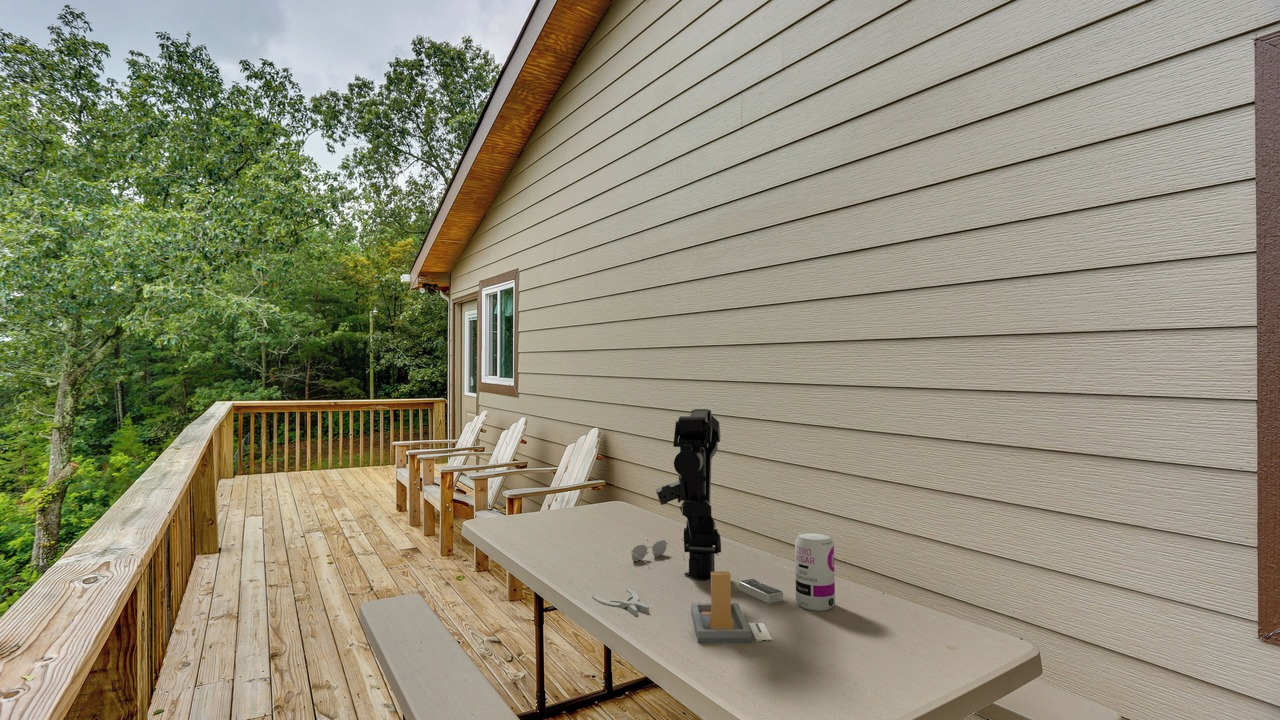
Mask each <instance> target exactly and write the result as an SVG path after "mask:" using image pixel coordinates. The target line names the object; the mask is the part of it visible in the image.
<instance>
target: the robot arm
mask: <svg viewBox="0 0 1280 720" xmlns="http://www.w3.org/2000/svg"><path fill="white" fill-rule="evenodd" d="M720 427H721V426H720V421H719V420H717V418H715V417H714V416H713V414H712V410H711V409H708V408H695V409H692V410H691V414H690V415H689V416H687V415H686V416H684V415H683V416H679V417H678V420H676V421H675V426H674V437H673V447H674V448H679V453H677V454H676V456H675V457H674V460H673V467H674V470H675V471H676V473H677V474H678V480H677V481H675V482H671V483H669V484H668V483H667V484H666V485H662V486H660V487H657V488H656V489H655V492H656V496H657V497H658V500H659V503H660V505H661V506H662V505H666V504H668V503H669V502H671V501H674V500H676V499H677V500H676V501H677V503H681V506H679V510H680V513H681V514H682V516H684V517H686V526H685V527H683V548H684V553H689V558H688V571H687V572H684V576H685V577H689V578H693V579H696V580H701V581H708V580H711V572H716V571H715V568H716V567H715V555H718V554H719V553H721V552H722V540H721V534H720V533H719V530H718V529H717V528H716V526H717V525H716V521H715V520H714V518H713V516H712V505H711V490H712V489H711V488H712V484H711V483H712V459H713V457H715V454H716V453H717V452H718V447H719V443H721V428H720Z"/></svg>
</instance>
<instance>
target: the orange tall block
mask: <svg viewBox="0 0 1280 720" xmlns="http://www.w3.org/2000/svg"><path fill="white" fill-rule="evenodd" d="M731 583H732V582H731V573H730V571H715V572H711V578H710V603H711V617H709V625H710V628H711V629H734V625H733V620H732V618H731V603H732V599H731V598H732V596H731V595H732V594H731V593H732V591H731V589H732V588H731V587H732V586H731V585H732V584H731Z"/></svg>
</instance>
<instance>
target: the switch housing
mask: <svg viewBox="0 0 1280 720" xmlns="http://www.w3.org/2000/svg"><path fill="white" fill-rule="evenodd" d="M690 613H691V618H692V621H693V626H694V630H695V634H696V638H697V643H752V635H753V637H754V639H756V640H755V642H763V641H762V640H767V641H766V642H768V640H770V641H769V642H772V641H773V639H772V637H771V635H770V633H769V631H768V629H767V627H766V625H765V623H764V622H747V619H746V617H745V615H744V613H743V611H742V608H741V606H740V604H739V602H731V618H732V620H733V625H734V629H711V628H710V625H709V617H711V602H710V603H709V602H708V603H707V602H704V603H703V602H697V603H696V602H690ZM771 640H772V641H771Z"/></svg>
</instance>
